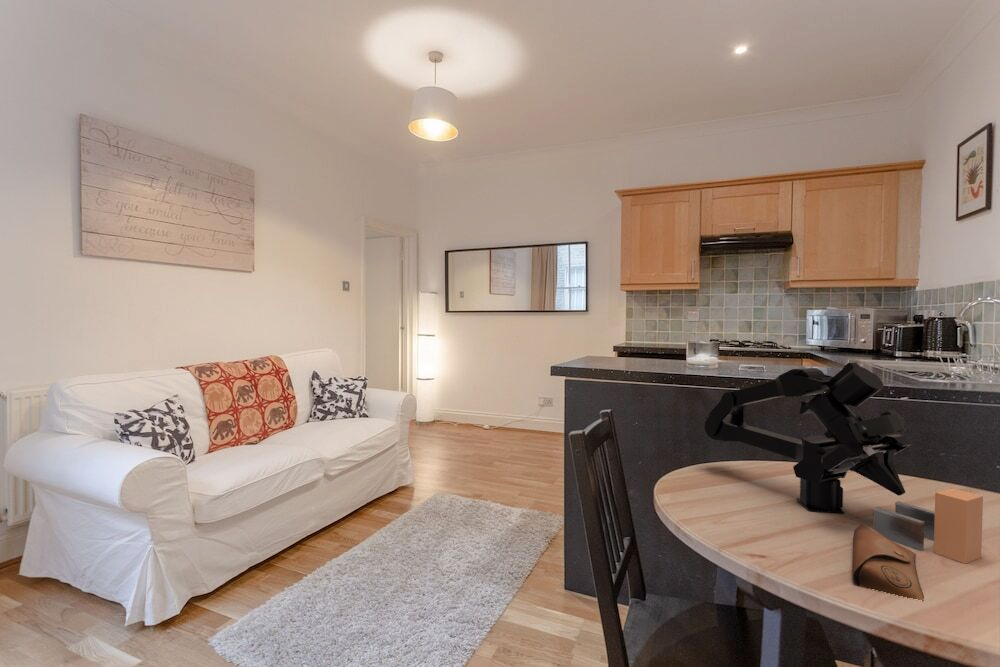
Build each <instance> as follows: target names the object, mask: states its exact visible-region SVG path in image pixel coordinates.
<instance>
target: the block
mask: <svg viewBox="0 0 1000 667" xmlns="http://www.w3.org/2000/svg"><path fill="white" fill-rule="evenodd" d="M983 506H984V496H983V495H981V494H975V493H971V492H968V491H964V490H961V489H956V488H952V487H951V488H948V489H947V488H946V489H944V490H943V489H942V490H940V491H936V492H935V493H934V512H935V523H934V541H933V553H934V554H937V555H940V556H941V557H945V558H947V559H950V560H953V561H956V562H959V563H962V564H964V565H965V564H969V563H971V562H974V561H977V560H978V559H981V558H982V551H983V550H982V545H983V543H982V542H983V516H984V515H983V514H984V513H983V508H984V507H983Z"/></svg>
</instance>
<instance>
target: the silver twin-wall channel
mask: <svg viewBox="0 0 1000 667" xmlns="http://www.w3.org/2000/svg"><path fill="white" fill-rule="evenodd" d="M894 503H895V504H894V505H895V506H894V507H895V508H894V509H895V510H894V511H892V510H888V509H885V508H882V507H880V506H876V507H875V506H874V507H873V528H872V529H874V530H875V531H877V532H878V533H880V534H881V535H883V536H884V537H886V538H887V539H889V540H891V541H893V542H895V543H897V544H899V545H901V546H902V545H903V546H905V547H909V548H911V549H914V550H917V551H919V552H922V551H924V550H925V549H924V548H925V547H924V546H925V539H927V540H931V541H933V542H934V523H935V510H934V511H933V510H931V509H927V508H923V507H920V506H917V505H913V504H910V503H906V502H903V501H899V500H897V501H894Z"/></svg>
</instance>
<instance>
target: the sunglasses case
mask: <svg viewBox="0 0 1000 667" xmlns="http://www.w3.org/2000/svg"><path fill="white" fill-rule="evenodd" d="M916 557H917V555H916V553H915V552H913V551H912V550H910V549H908V548H907V547H906V546H905V547H904V546H902V544H900V543H897V542H894V541H892V540H889V539H887V538H886V537H884V536H883V535H881V534H880V533H878V532H877V531H875V530H874V529H873V528H872V527H870V526H869V525H866V524H860V525H858V526H857V527H856V528H855V529H854V531H853V538H852V566H851V567H852V571H851V573H852V580H853V582H855V584H856V586H858V587H861V588H865V589H869V588H870V589H869V590H872V589H875V590H874V591H876V590H878V591H877V592H880V591H883V592H882V593H884V592H886V593H885V594H888V593H890V594H889V595H892V594H895V595H894V596H896V595H898V596H897V597H900V596H903V597H902V598H904V597H907V598H906V599H908V598H913V599H918V600H922V603H924V602H923V601H924V600H925V596H924V593H923V590H922V586H921V583H920V580H919V576H918V570H917V566H916ZM913 599H912V600H913ZM918 600H917V601H918Z"/></svg>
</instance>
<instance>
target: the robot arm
mask: <svg viewBox="0 0 1000 667" xmlns="http://www.w3.org/2000/svg"><path fill="white" fill-rule="evenodd" d="M882 389H884V383H883V381H882V380H881V378H880V376H878V375H877V374H876V373H873V372H872V371H870V370H869V369H868V368H865V367H863V366H861V365H859V364H858V363H857V362H855V361H853V362H848V363H847V364H845V365H844V366H843V367H842V369H841V370H840V371H839V372H838V373H837V374H835V375H834V376H832V375H829V374H825V373H824V372H823V370H821V369H819V368H817V367H805V368H793V369H790V370H787V371H786V372H783V373H782V374H779V375H778V376H777V377H776V378H774V379H772V380H770V381H766V382H762V383H758V384H754V385H751V386H747V387H743V388H740V389H736V390H729V391H725V392H724V393H723V394H722V396H721V398H720V400H719V401H718V402H717V404H716V405H715V406H714V407H713V408H712V410H711V411H710V412H709V415H708V417H707V418H706V420H705V422H704V431H705V433H706V435H707V437H708V438H709V439H710V440H713V441H720V442H738V443H743V444H745V445H749V446H751V447H754V448H757V449H761V450H765V451H767V452H770V453H773V454H776V455H779V456H783V457H785V458H790V459H793V460H794V461H797V463H796V464H795V465H793V467H792V468H793V471H794V475H795V477H796V478H798V479H799V480H800V481H799V497H796V502H798V503H799V504H800V505H801V506H802V507H803V508H805V509H806V510H807V511H808V512H812V513H827V514H839V515H844V514H845V511H844V510H843V509H842V508H843V507H844V488H843V487H842V485H841V482H842V481H841V479H845V478H846V475H847V473H848V472H849V471H850V472H854V473H856V474H858V475H861V476H862V477H864V478H866V479H868V480H870V481H872V482H873V483H875V484H877V485H878V486H880V487H881V488H882V487H883V488H884V489H886V490H888V491H889V492H891V493H892V494H895V495H897V496H902V495H904V494H906V490H905V487H904V485H903V482H902V481H901V479H900V477H899V474H898V472H897V470H896V466H895V465H894V457H895V455H897V454H899V453H901V452H902V451H904V450H905V449H907V448H909V447H910V446H912V442H910V441H909V439H908V438H907V437H906V436H905V435H904V434H903V435H902V434H898V433H901V432H905V431H906V428H905V423H906V418H905V417H903V416H901V415H902V414H900V413H898V412H896V411H895V410H894V409H891V410H887V411H884V412H883V411H882V412H880V415H879V416H877V417H873V418H869V419H867V417H865V416H864V415H856V414H855V413H854V412H853V411H852V410H851V409H850V408H849V406H852V407H857V408H858V407H860V406H861V405H862V404H863V403H865V402H866V401H867V400H869V399H870V398H872V397H873V396H874V395H876V394H877V393H878V392H880V391H881V390H882ZM805 396H806V397H807V396H813V397H812V398H811V399H809V400H801V401H800V407H799V413H798V414H800V415H808V414H813V416H814V417H815V418H816V419H817V420H818V422H819V423H820V424H821V425H822V426H823V427H824V429H825V430H826V431H825V432H824V433H823V434H824V436H823V435H820V434H819V435H813V436H806V437H801V439H799V438H796V437H792V436H789V435H784V434H781V433H777V432H773V431H771V430H766V429H763V428H761V427H760V428H759V427H755V426H752V425H749V424H748V423H747V422H746V421H745V419H746V407H747V405H751V404H755V403H759V402H763V401H769V400H773V399H778V398H781V397H785V398H786V397H787V398H788V397H790V398H791V397H793V398H794V397H805ZM730 412H731V414H730ZM897 432H898V433H897ZM831 438H833V439H831Z"/></svg>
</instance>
